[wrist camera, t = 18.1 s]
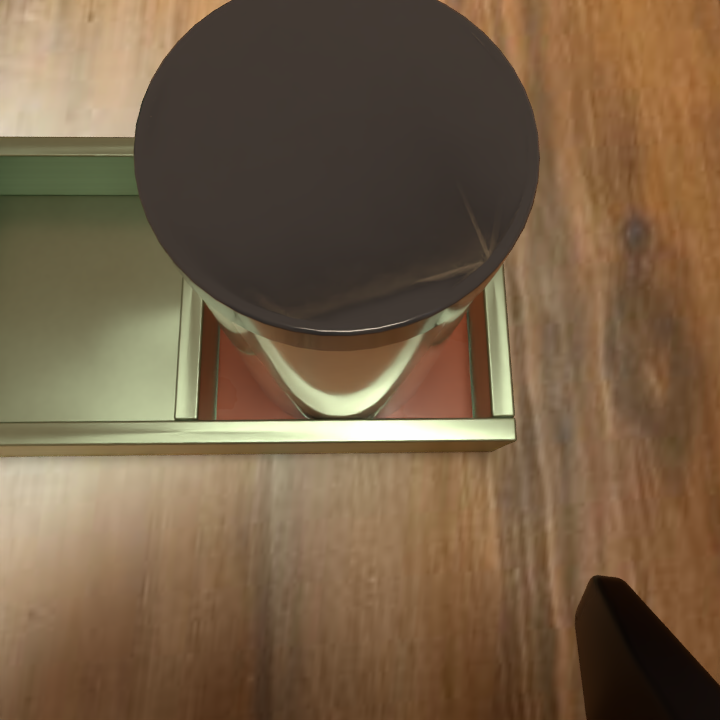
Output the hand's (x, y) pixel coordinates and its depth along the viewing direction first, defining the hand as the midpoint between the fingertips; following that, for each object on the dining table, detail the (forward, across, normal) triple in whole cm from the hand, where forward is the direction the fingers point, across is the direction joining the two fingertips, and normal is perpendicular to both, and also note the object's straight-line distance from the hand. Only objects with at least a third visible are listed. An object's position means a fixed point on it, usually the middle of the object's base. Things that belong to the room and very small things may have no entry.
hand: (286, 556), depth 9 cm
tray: (+13, +4, +3) cm, 14 cm away
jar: (+12, 0, +3) cm, 12 cm away
